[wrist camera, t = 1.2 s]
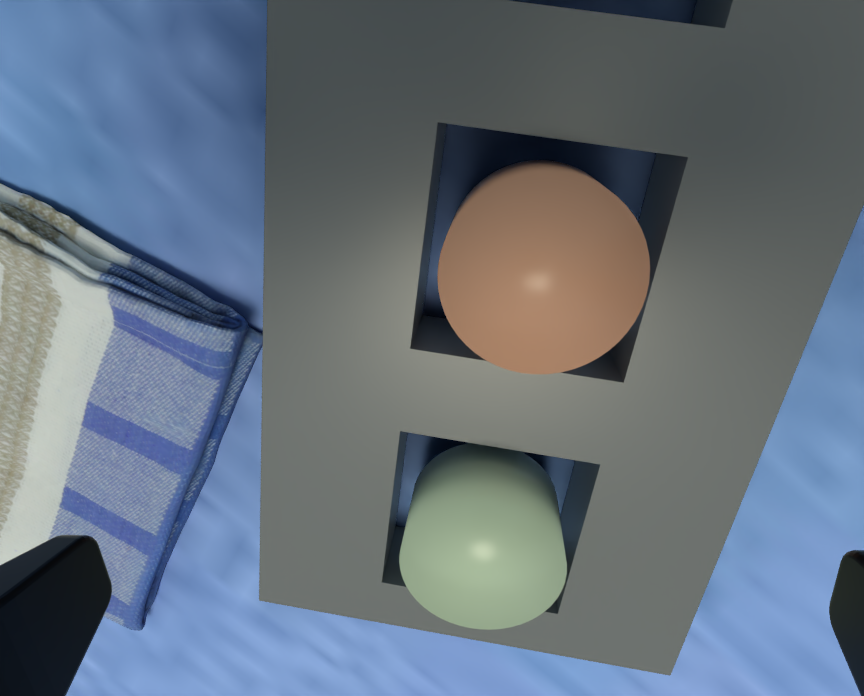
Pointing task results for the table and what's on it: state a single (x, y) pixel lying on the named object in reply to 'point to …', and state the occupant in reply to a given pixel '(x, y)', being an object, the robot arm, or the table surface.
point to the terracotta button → (542, 268)
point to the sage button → (484, 538)
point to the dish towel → (106, 397)
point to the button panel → (559, 392)
